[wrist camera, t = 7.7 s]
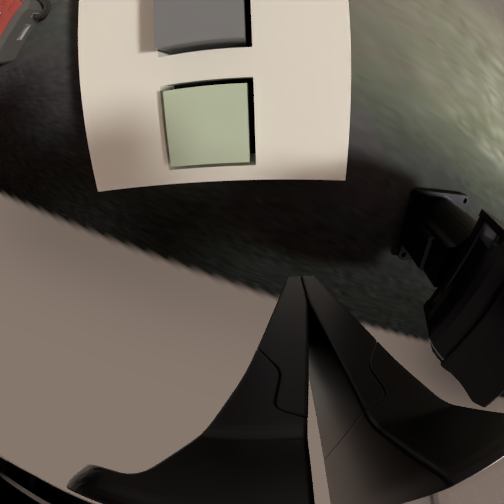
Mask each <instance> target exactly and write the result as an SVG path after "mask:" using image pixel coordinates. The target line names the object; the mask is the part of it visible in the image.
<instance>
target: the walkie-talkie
mask: <svg viewBox="0 0 504 504" xmlns="http://www.w3.org/2000/svg"><path fill="white" fill-rule="evenodd" d="M50 7H51V6H50V3H49V1H47V0H0V64H3V63H9V62H11V61H14V60H15V58H16V56H17V54H18V53H19V51H20V49H21V47H22V46H23V44H24V42H25V41H26V39H27V38H28V36H29V35H30V33H31V31H32V30H33V28H34V27H35V26H36V24H37V23H38V21H39V20H40V19H42V18H44V17H45V16H46V15H47V14H48V13H49V11H50Z"/></svg>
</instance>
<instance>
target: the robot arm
mask: <svg viewBox="0 0 504 504" xmlns="http://www.w3.org/2000/svg"><path fill="white" fill-rule="evenodd" d="M417 194H419V195H418V197H416V195H417ZM464 199H465V200H464ZM463 200H464V201H463ZM468 203H469V197H468V196H467V195H465V194H461V193H453V192H444V191H435V190H425V189H415V190H413V191H412V193H411V197H410V202H409V207H408V211H407V214H406V216H405V221H404V225H403V229H402V233H401V237H400V244H399V248H398V251H397V255H398V257H399V258H400V259H402V260H406V259H413V261H414V262H415V263H416V265H417V266H418V268H419V269H420V270H421V271H424V272H425V274H426V275H427V277H428V278H429V280H430V281H431V283H432V284H433V286H434V287H438V288H437V289H436V291H435V292H434V293H433V295H432V296H431V298H430V299H429V300H427V301H426V303H425V304H424V305H423V307H424V312H425V317H426V322H427V327H428V333H429V341H430V344H431V347H432V350H433V352H434V353H435V355H436V356H437V358H438V359H439V360H440V361H441V366H442V367H443V368H445V369H446V370H447V371H449V372H450V373H451V374H452V375H453V376H454V377H455V378H456V379H457V380H458V381H459V382H460V383H461V385H462V386H463V387H464V389H465V390H466V392H467V393H468V395H469V397H470V398H471V400H472V401H473V402H474V403H476V404H478V405H480V406H482V407H486V406H488V405H489V404H490V403H491V402H493V401H494V400H495V399H496V398H497V397H501V398H504V223H503V222H502V221H500V220H499V219H497V218H496V217H494V216H493V215H491V214H490V213H488V212H486V211H485V210H483V209H482V210H481V212H480V214H479V216H480V217H479V219H478V221H477V222H476V221H475V220H474V219H473V218H472V217H471V216H470V215H468V214H467V213H466V210H467V206H468ZM402 253H404V254H402ZM401 254H402V255H401ZM309 379H310V384H311V389H312V395H313V400H314V406H315V411H316V416H317V422H318V428H319V433H320V439H321V445H322V451H323V457H324V463H325V470H326V476H327V482H328V488H329V495H330V502H331V504H504V413H497V412H490V411H484V410H478V409H472V408H466V407H461V406H456V405H452V404H449V403H447V402H445V401H443V400H442V399H440V398H439V397H437V396H436V395H435V394H434V393H433V392H431V391H430V390H429V389H428V388H427V387H426V386H424V385H423V384H422V383H421V382H420V381H419V380H417V379H416V378H415V377H414V376H413V375H412V374H411V373H409V372H408V371H407V370H406V369H405V368H404V367H403V366H402V365H400V364H399V363H398V362H397V361H396V360H395V359H394V358H393V357H392V356H391V355H390V354H389V353H388V352H387V351H386V350H385V349H384V348H383V347H382V346H381V345H380V344H379V342H376V340H375V338H374V337H373V336H372V335H371V334H370V333H369V332H368V331H367V330H366V329H365V328H364V327H363V326H362V325H361V324H360V323H359V322H358V320H357V319H356V318H355V317H354V316H353V315H352V314H351V313H350V312H349V311H348V310H347V309H346V308H345V307H344V306H343V305H342V304H341V303H340V302H339V301H338V300H337V299H336V298H335V297H334V296H333V295H332V294H331V293H330V292H329V291H328V290H327V289H326V288H325V287H324V286H323V284H322V283H321V282H320V281H319V280H318V279H317V278H316V277H314V276H303V277H302V278H301V277H300V276H291V277H288V278H287V280H286V283H285V285H284V288H283V290H282V293H281V295H280V297H279V300H278V302H277V304H276V307H275V309H274V312H273V314H272V316H271V318H270V321H269V323H268V326H267V328H266V330H265V333H264V335H263V337H262V339H261V341H260V344H259V346H258V348H257V351H256V352H255V354H254V357H253V359H252V361H251V363H250V365H249V367H248V369H247V371H246V373H245V374H244V376H243V378H242V379H241V381H240V383H239V384H238V386H237V387H236V389H235V390H234V392H233V393H232V395H231V396H230V398H229V399H228V400H227V402H226V403H225V405H224V406H223V407H222V409H221V411H220V412H219V413H218V414H217V416H216V417H215V419H214V420H213V421H212V422H211V424H210V425H209V426H208V427H207V429H206V430H205V431H204V432H203V433H202V434H201V435H200V436H198V437H197V438H196V439H194V440H193V441H192V442H190V443H189V444H187V445H186V446H184V447H183V448H182V449H180V450H178V451H177V452H175V453H174V454H172V455H171V456H169V457H168V458H166V459H165V460H163V461H162V462H160V463H159V464H157V465H155V466H154V467H152V468H150V469H148V470H146V471H143V472H140V473H133V474H126V473H120V472H117V471H113V470H110V469H106V468H103V467H100V466H96V465H87V466H86V467H85V468H83V469H82V470H81V471H79V472H78V473H77V474H76V475H74V477H73V478H72V479H71V480H70V481H69V483H68V484H67V488H68V489H70V490H71V491H73V492H75V493H78V494H80V495H82V496H84V497H87V498H89V499H91V500H94V501H97V502H99V503H102V504H315V503H314V493H313V482H312V474H311V464H310V456H309V448H308V439H307V422H308V421H307V418H308V386H309V385H308V382H309ZM0 504H95V503H92V502H89V501H87V500H84V499H82V498H80V497H78V496H75V495H73V494H71V493H69V492H66V491H64V490H63V489H60V488H58V487H56V486H54V485H53V484H51V483H49V482H47V481H45V480H43V479H41V478H39V477H37V476H36V475H33V474H32V473H30V472H28V471H26V470H25V469H23V468H21V467H19V466H17V465H16V464H14V463H12V462H10V461H9V460H7V459H5V458H4V457H2V456H0Z"/></svg>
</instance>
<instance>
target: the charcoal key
mask: <svg viewBox="0 0 504 504" xmlns="http://www.w3.org/2000/svg"><path fill="white" fill-rule="evenodd" d="M154 47H155V48H156V49H159V50H162V51H165V52H168V53H171V54H177V53H184V52H191V51H198V50H207V49H217V48H230V47H247V43H246V16H245V0H154Z"/></svg>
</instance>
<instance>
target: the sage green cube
mask: <svg viewBox="0 0 504 504" xmlns="http://www.w3.org/2000/svg"><path fill="white" fill-rule="evenodd" d="M163 98H164V109H165V119H166V129H167V138H168V146H169V155H170V162H171V167H176V166H188V165H201V164H218V163H240V162H250V150H251V144H250V115H249V87H248V83H234V84H219V85H207V86H198V87H189V88H181V89H174V90H168V91H163Z"/></svg>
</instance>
